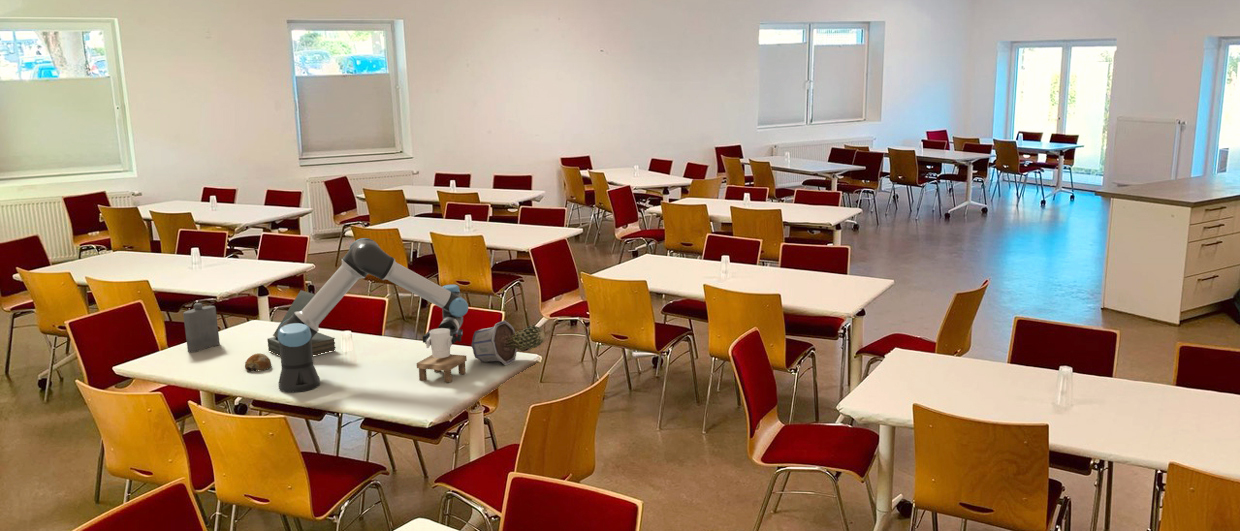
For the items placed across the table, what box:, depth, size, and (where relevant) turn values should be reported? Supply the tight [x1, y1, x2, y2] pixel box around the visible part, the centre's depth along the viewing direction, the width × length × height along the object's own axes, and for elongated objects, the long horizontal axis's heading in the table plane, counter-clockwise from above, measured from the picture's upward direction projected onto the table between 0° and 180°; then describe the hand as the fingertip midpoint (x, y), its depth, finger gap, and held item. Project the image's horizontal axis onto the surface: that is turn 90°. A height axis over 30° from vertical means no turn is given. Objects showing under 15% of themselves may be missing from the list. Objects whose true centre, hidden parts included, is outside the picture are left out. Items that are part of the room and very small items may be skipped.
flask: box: [182, 302, 220, 353], centre depth 424 cm, size 15×6×20 cm, turn 149°
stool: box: [416, 353, 467, 384], centre depth 375 cm, size 14×14×7 cm
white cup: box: [428, 327, 451, 358], centre depth 373 cm, size 8×8×10 cm
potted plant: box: [471, 319, 546, 366], centre depth 389 cm, size 18×18×30 cm
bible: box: [267, 289, 336, 356], centre depth 414 cm, size 23×20×25 cm
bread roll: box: [244, 353, 272, 372], centre depth 393 cm, size 10×10×8 cm
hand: (438, 344), depth 368 cm, fingers closed on white cup, 7 cm apart
